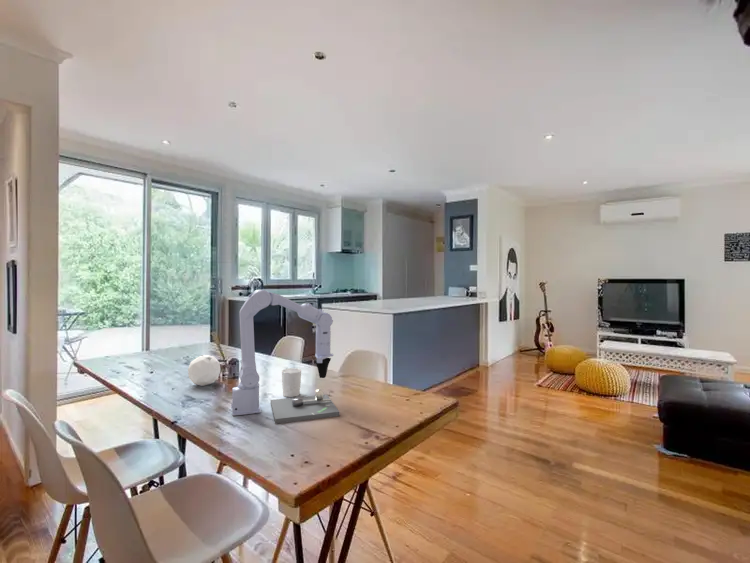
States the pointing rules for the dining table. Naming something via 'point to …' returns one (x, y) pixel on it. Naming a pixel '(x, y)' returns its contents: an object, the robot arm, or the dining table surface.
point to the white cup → (291, 382)
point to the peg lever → (318, 398)
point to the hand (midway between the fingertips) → (322, 377)
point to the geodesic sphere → (204, 370)
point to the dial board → (302, 410)
